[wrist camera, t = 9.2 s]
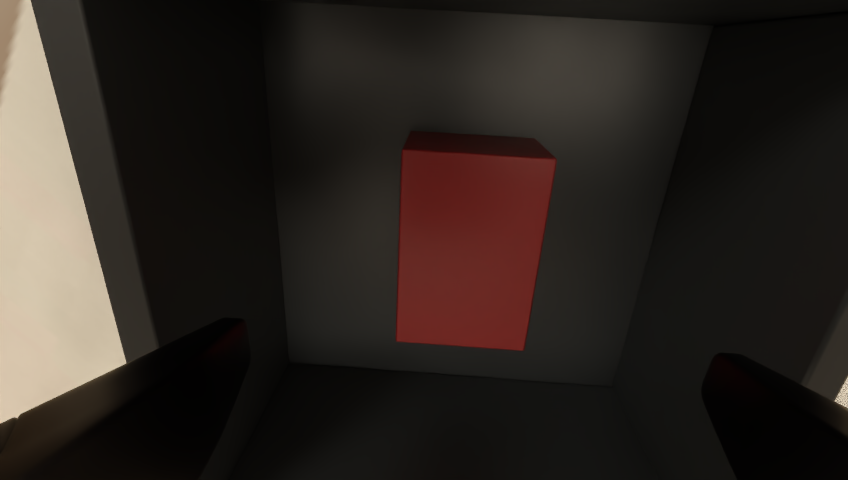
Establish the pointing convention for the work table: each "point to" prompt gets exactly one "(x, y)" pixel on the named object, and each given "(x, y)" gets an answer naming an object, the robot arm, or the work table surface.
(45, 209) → the work table surface
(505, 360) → the storage bin
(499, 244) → the red rectangular block
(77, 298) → the work table surface
